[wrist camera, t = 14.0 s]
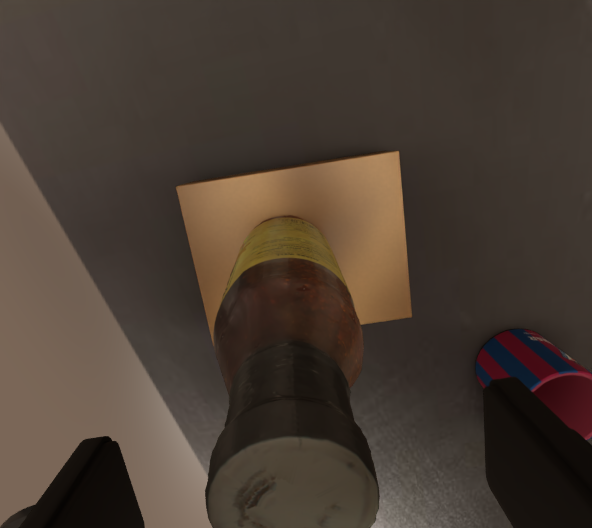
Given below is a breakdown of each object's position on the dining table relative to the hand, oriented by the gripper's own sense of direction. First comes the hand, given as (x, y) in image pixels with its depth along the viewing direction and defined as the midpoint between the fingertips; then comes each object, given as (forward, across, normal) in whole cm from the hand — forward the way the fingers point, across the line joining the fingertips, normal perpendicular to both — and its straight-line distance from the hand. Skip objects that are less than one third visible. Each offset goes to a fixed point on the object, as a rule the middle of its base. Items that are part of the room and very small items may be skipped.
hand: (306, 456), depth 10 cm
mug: (+23, -16, +14) cm, 32 cm away
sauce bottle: (+19, 0, 0) cm, 19 cm away
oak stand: (+23, 0, 0) cm, 23 cm away
